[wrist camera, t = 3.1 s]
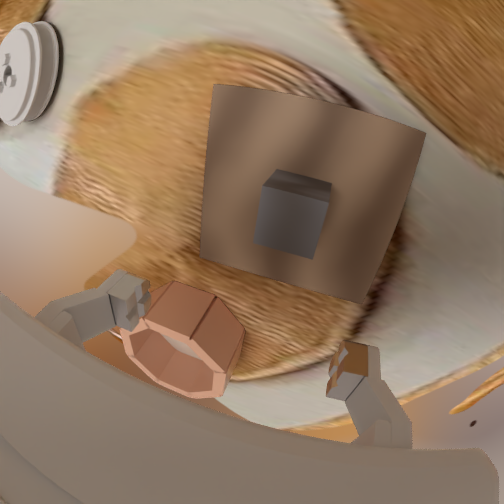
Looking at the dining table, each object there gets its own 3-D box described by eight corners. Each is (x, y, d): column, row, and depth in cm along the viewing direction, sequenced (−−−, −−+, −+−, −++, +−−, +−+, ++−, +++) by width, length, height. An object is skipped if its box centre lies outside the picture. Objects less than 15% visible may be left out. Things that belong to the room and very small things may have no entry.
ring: (250, 306, 28) (229, 351, 23) (236, 371, 35) (220, 409, 30) (145, 270, 30) (113, 304, 25) (153, 338, 37) (131, 370, 32)
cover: (421, 131, 16) (444, 142, 12) (361, 295, 25) (361, 337, 20) (220, 84, 19) (186, 83, 15) (205, 250, 27) (178, 282, 23)
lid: (7, 98, 24) (-21, 107, 20) (32, 14, 17) (0, 16, 13) (48, 135, 25) (14, 147, 21) (80, 33, 18) (41, 34, 14)
